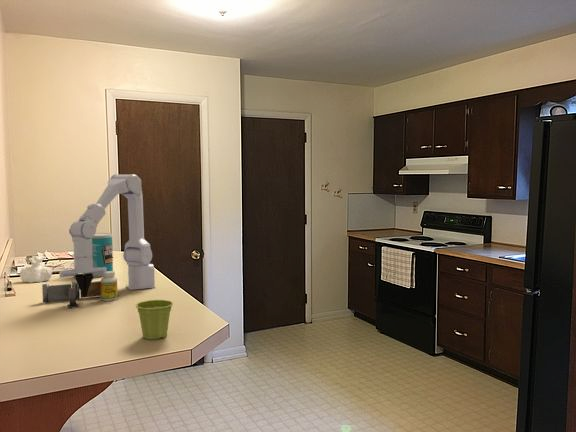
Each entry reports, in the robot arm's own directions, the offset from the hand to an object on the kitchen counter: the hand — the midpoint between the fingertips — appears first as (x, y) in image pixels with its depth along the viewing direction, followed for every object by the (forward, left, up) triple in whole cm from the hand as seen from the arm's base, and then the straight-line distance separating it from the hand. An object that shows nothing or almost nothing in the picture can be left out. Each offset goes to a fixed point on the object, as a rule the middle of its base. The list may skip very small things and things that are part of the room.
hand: (84, 296), depth 162 cm
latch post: (+4, +5, -2) cm, 7 cm away
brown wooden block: (-5, -6, -2) cm, 8 cm away
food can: (-11, -49, -2) cm, 50 cm away
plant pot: (-12, +48, -2) cm, 49 cm away
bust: (+13, -47, -2) cm, 49 cm away
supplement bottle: (-8, 0, -2) cm, 8 cm away
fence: (+7, -6, -2) cm, 9 cm away
